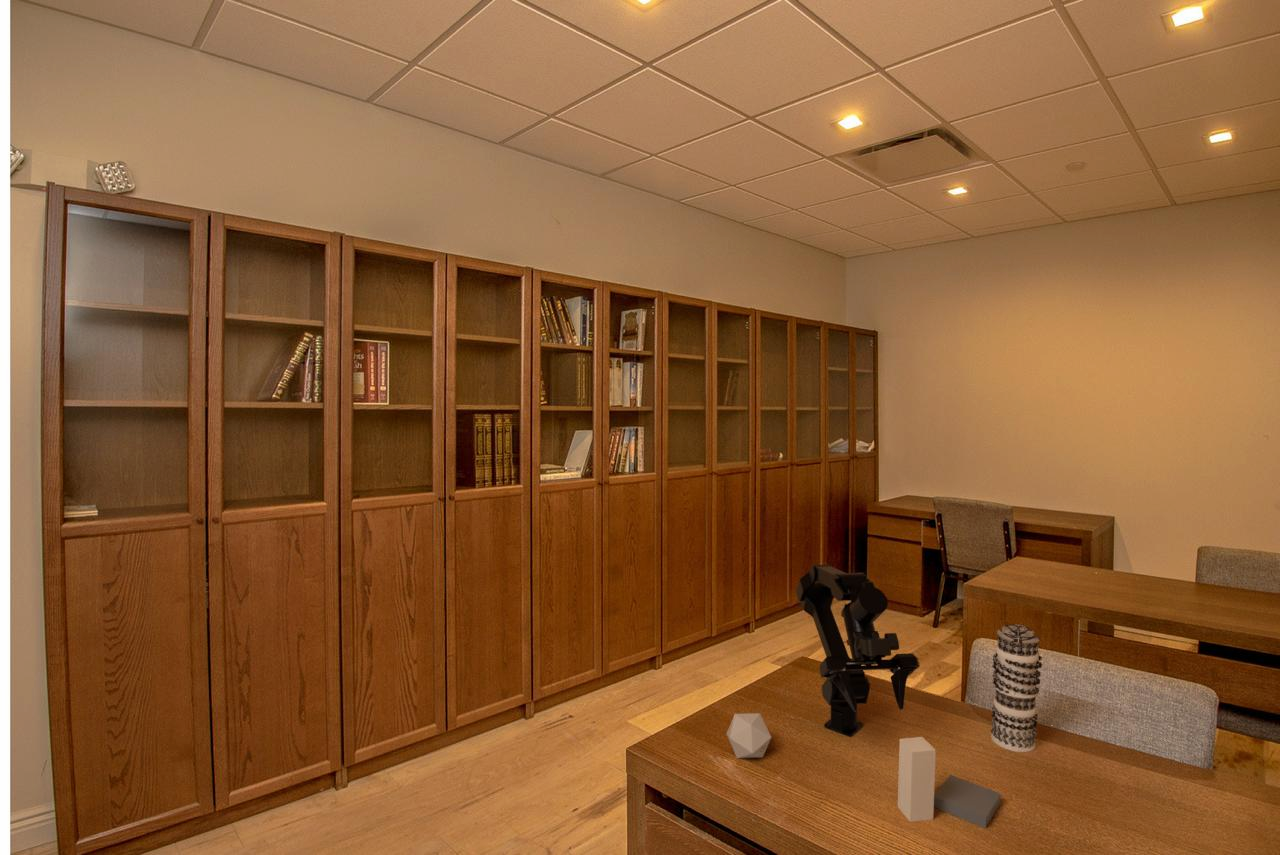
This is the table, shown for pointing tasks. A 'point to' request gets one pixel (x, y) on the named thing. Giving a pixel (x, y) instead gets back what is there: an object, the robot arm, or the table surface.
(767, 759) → the table surface
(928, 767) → the tall white pillar block
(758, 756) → the die
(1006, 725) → the decorative candle
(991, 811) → the plate
